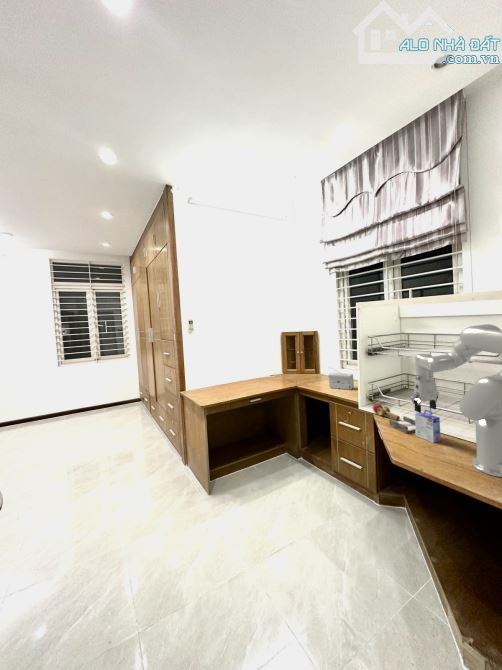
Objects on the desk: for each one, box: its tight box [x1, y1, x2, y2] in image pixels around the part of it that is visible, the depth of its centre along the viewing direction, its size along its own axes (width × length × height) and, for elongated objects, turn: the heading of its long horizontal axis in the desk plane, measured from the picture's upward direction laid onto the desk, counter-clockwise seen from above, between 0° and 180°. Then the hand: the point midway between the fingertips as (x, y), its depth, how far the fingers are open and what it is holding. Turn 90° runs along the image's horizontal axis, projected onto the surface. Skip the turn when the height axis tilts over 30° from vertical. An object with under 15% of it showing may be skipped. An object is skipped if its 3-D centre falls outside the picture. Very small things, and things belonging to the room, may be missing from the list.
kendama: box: [372, 403, 401, 421], centre depth 166 cm, size 8×6×18 cm
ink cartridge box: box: [414, 409, 442, 444], centre depth 133 cm, size 10×6×14 cm, turn 22°
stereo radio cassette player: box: [327, 366, 355, 390], centre depth 233 cm, size 21×8×20 cm, turn 53°
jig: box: [388, 415, 416, 435], centre depth 147 cm, size 12×11×4 cm
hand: (425, 410), depth 133 cm, fingers open, 9 cm apart
